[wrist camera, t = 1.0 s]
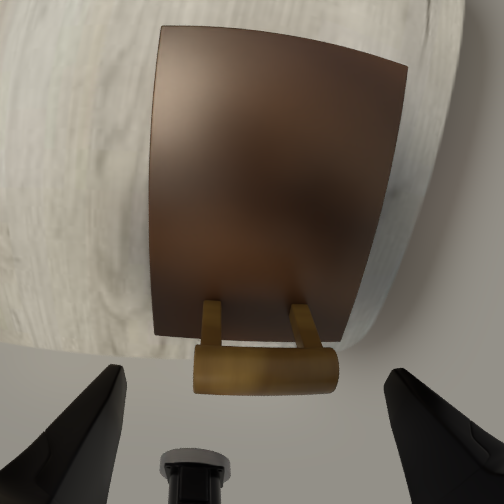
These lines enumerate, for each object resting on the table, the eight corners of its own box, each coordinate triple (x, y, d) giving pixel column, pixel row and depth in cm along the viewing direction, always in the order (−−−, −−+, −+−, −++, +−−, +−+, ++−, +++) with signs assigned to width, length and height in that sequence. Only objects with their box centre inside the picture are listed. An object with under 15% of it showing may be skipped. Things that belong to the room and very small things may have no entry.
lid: (336, 332, 15) (369, 413, 10) (156, 325, 14) (137, 413, 9) (399, 67, 9) (488, 65, 5) (164, 29, 8) (121, -15, 4)
